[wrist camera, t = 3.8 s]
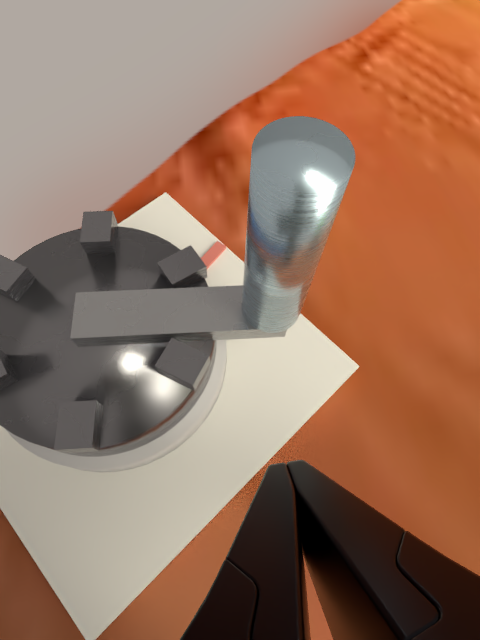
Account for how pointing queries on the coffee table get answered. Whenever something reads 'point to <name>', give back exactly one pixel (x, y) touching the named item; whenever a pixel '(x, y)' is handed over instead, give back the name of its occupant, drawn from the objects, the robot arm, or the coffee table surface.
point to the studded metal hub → (158, 303)
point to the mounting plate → (180, 488)
